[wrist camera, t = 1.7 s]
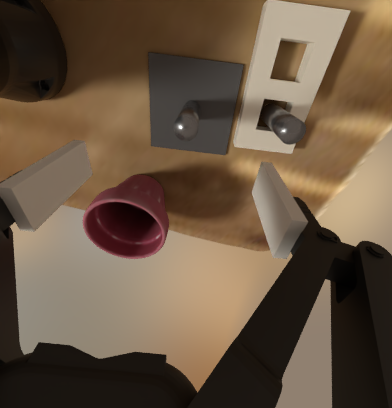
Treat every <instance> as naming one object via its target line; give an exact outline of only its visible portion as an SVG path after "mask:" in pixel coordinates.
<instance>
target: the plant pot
mask: <svg viewBox="0 0 392 408" xmlns="http://www.w3.org/2000/svg"><path fill="white" fill-rule="evenodd" d="M83 227H84V230H85V233H86V235H87V236H88V237H89V239H90V240H91V241H92V242H93V243H94V244H95V245H96V246H97V247H99V248H100V249H102V250H104V251H106V252H108V253H110V254H112V255H115V256H118V257H123V258H129V259H138V258H145V257H149V256H151V255H153V254H155V253H157V252H158V251H159V250H160V249H161V248H162V246H163V245H164V243H165V240H166V236H167V232H168V228H169V219H168V215H167V213H166V211H165V199H164V191H163V188H162V186H161V185H160V184H159V183H158V182H157V181H156V180H155V179H153V178H152V177H149V176H146V175H133V176H131V177H129V178H128V179H126V180H125V181H124V182H122V183H121V184H119V185H118V186H116V187H114V188H110V189H107V190H105V191H103V192H101V193H100V194H99V195H97V197H96V198H95V199H94V200H93V201H92V203H91V204H90V206H89V207H88V208H87V210H86V212H85V214H84V217H83Z"/></svg>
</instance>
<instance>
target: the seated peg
mask: <svg viewBox="0 0 392 408" xmlns="http://www.w3.org/2000/svg"><path fill="white" fill-rule="evenodd" d="M261 119H262V120H263V121H264V122H265V123H266V124H267V126H268V127H269V128H270V129H271V130H272V131H273V132H274V133H275V134H276V135H277V137H278V138H279V139H280V140H281V141H282V142H283V143H285V144H288V145H291V144H295V143H297V142H299V141H300V140H301V139H302V138H303V136H304V135H305V132H306V126H305V124H304V122H303V121H301V120H300V119H298V118H297V117H295V116H293V115H292V114H290V113H289V112H287V111H286V110H284V109H283V108H281V107H279V106H278V105H276V104H274V103H269V104H267V105H265V106H264V107H263V109H262V111H261Z"/></svg>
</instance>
